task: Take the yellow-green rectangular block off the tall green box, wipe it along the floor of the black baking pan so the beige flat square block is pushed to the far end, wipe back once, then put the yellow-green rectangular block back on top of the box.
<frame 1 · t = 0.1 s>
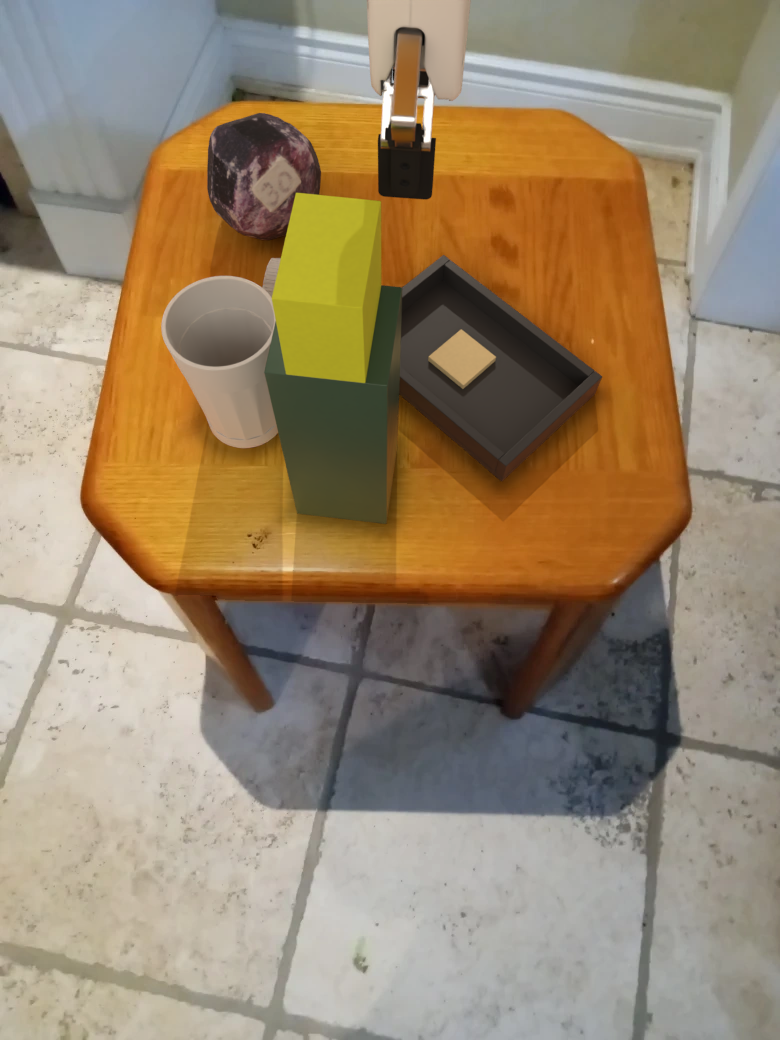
hand: (411, 136, 51), 21 cm above the table, tool pointing down, fingers open, 9 cm apart
mineral specimen: (270, 219, 76), on the table
yellow-green rectangular block: (335, 328, 47), point 19 cm above the table, touching tall green box
tall green box: (348, 478, 64), on the table
cup: (247, 415, 67), on the table
pan: (469, 372, 69), on the table
beige flat square block: (461, 360, 68), point 1 cm above the table, touching pan
wristwatch: (280, 311, 71), on the table
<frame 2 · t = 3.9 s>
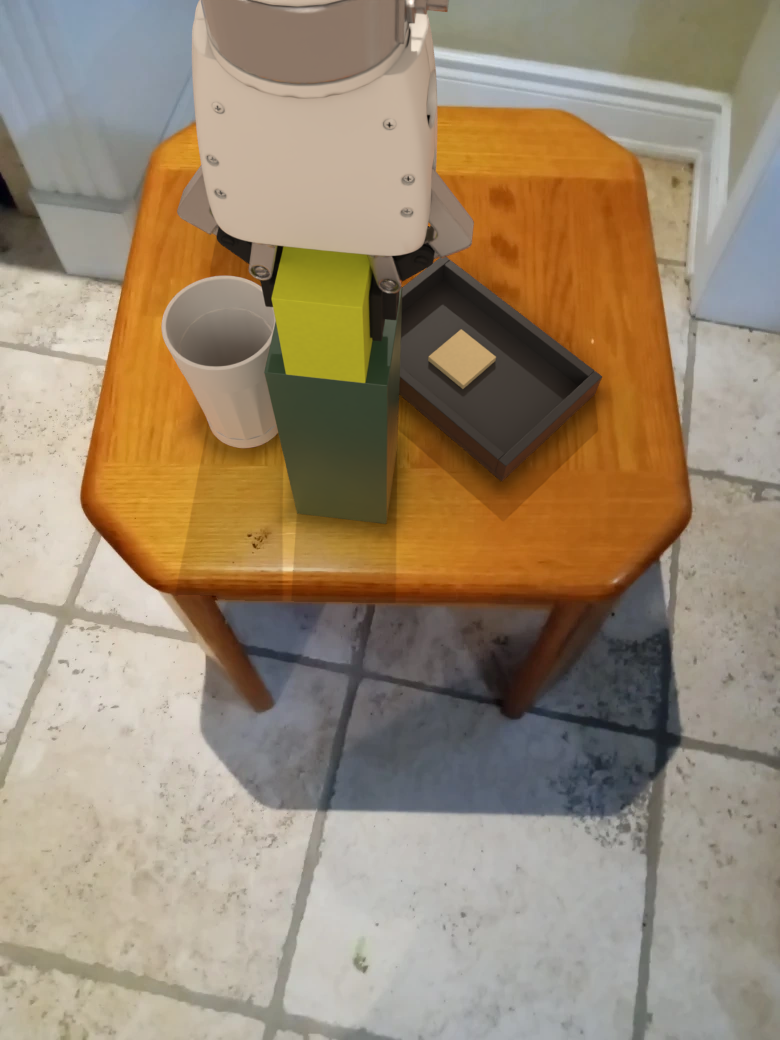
hand: (333, 313, 46), 20 cm above the table, tool pointing down, fingers closed on yellow-green rectangular block, 4 cm apart
yellow-green rectangular block: (335, 328, 47), point 19 cm above the table, touching gripper, tall green box
everything else where it was.
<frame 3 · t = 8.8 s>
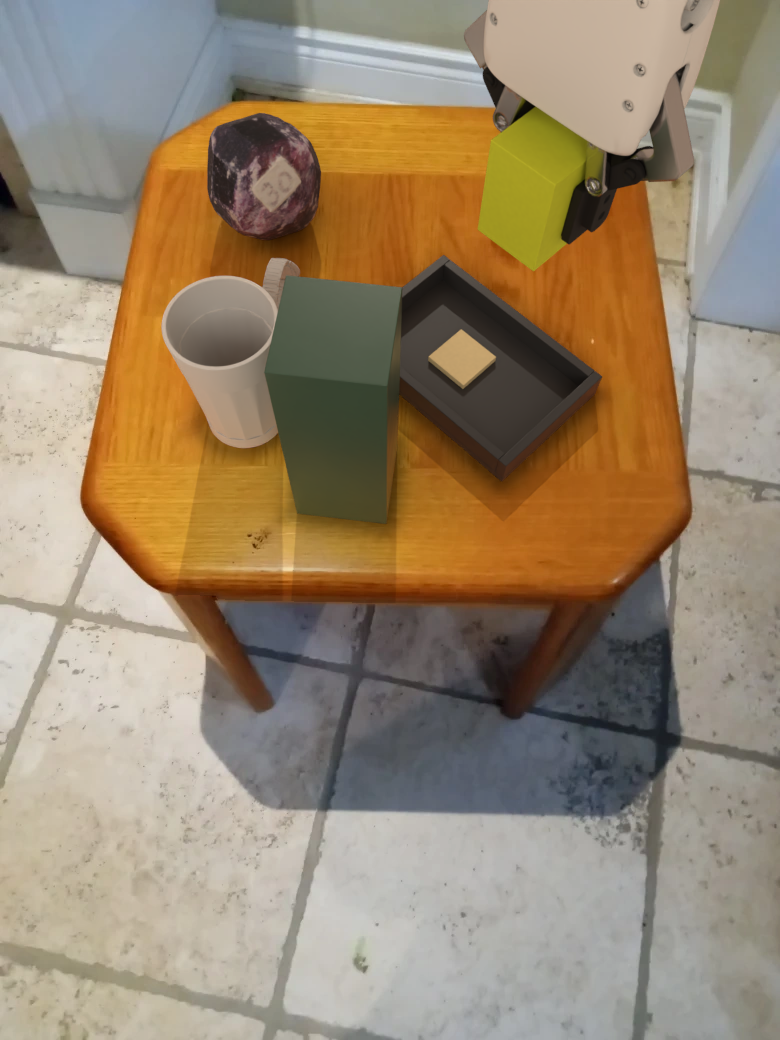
hand: (547, 202, 48), 21 cm above the table, tool pointing down, fingers closed on yellow-green rectangular block, 4 cm apart
yellow-green rectangular block: (543, 219, 50), point 20 cm above the table, touching gripper
everything else where it was.
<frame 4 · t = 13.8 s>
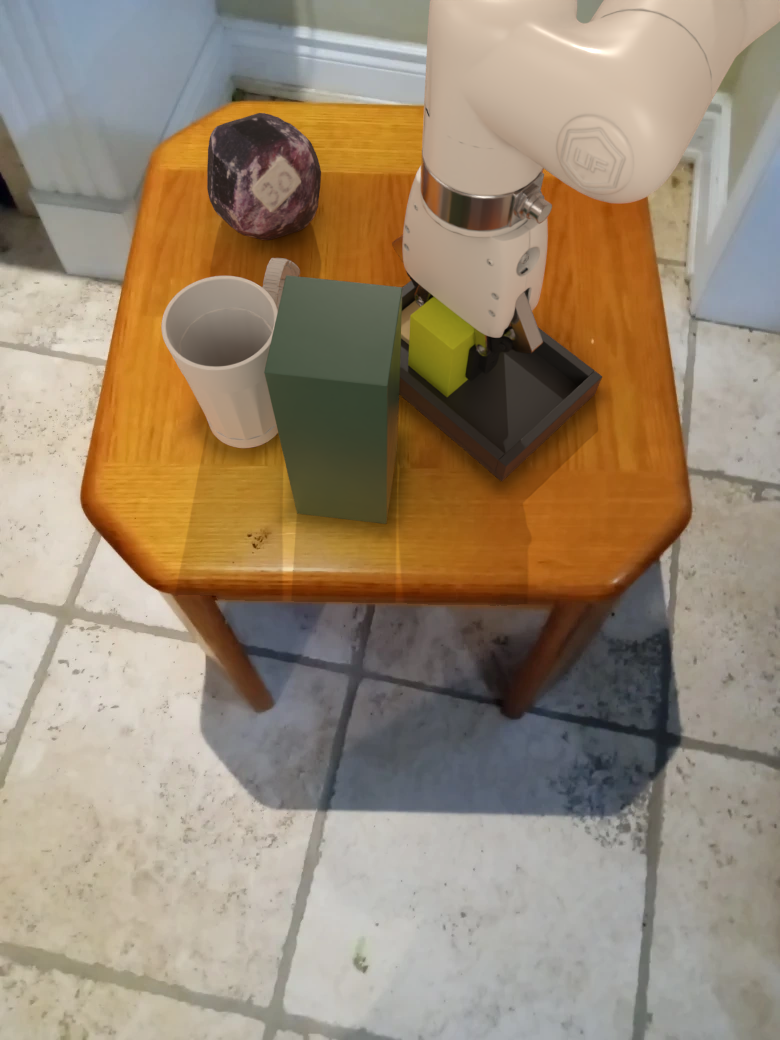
hand: (457, 349, 68), 2 cm above the table, tool pointing down, fingers closed on yellow-green rectangular block, 4 cm apart
yellow-green rectangular block: (456, 356, 69), point 1 cm above the table, touching beige flat square block, gripper, pan
beige flat square block: (420, 327, 70), point 1 cm above the table, touching pan, yellow-green rectangular block
everything else where it was.
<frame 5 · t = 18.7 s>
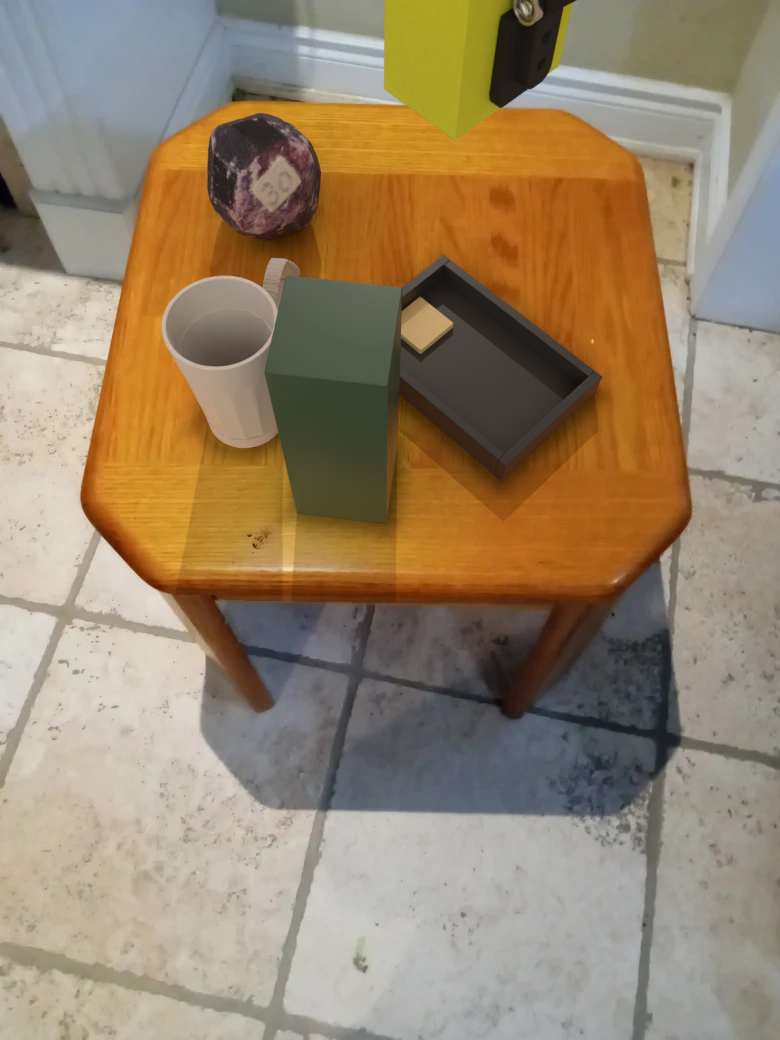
hand: (474, 56, 37), 33 cm above the table, tool pointing down, fingers closed on yellow-green rectangular block, 4 cm apart
yellow-green rectangular block: (472, 77, 38), point 32 cm above the table, touching gripper
beige flat square block: (420, 327, 70), point 1 cm above the table, touching pan
everything else where it was.
when the fingers open (20 cm above the table, at t = 22.7 s): yellow-green rectangular block stays where it is, resting on tall green box.
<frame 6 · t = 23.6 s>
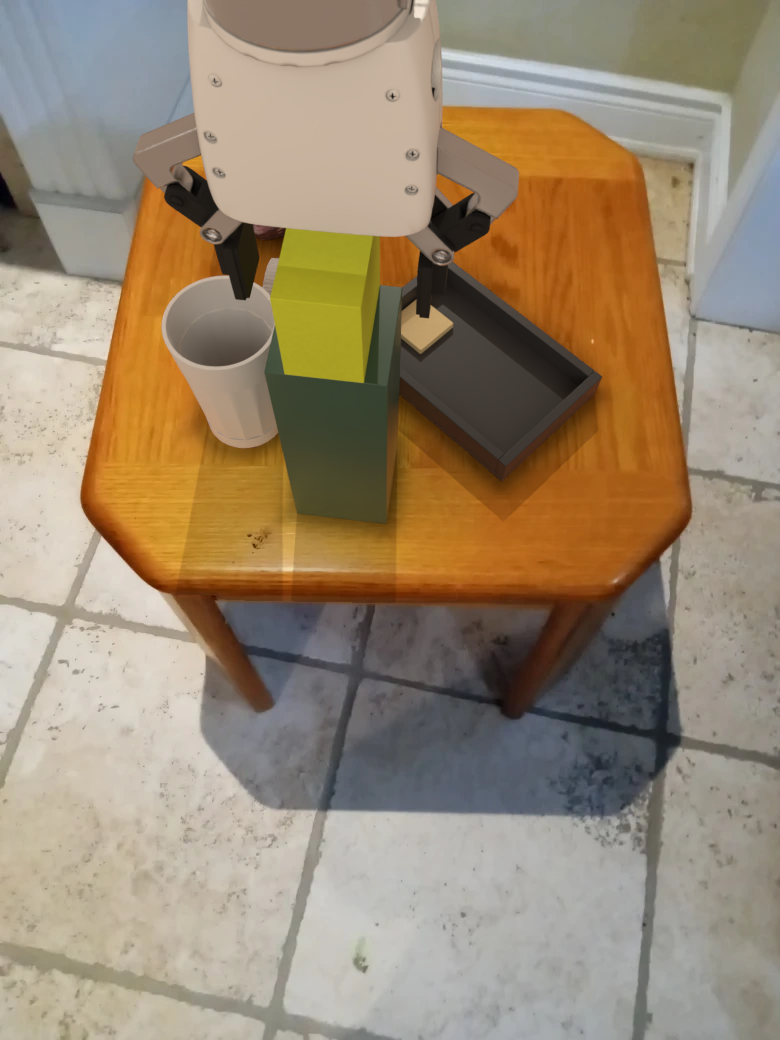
hand: (336, 288, 44), 23 cm above the table, tool pointing down, fingers open, 9 cm apart
yellow-green rectangular block: (333, 328, 47), point 19 cm above the table, touching tall green box
everything else where it was.
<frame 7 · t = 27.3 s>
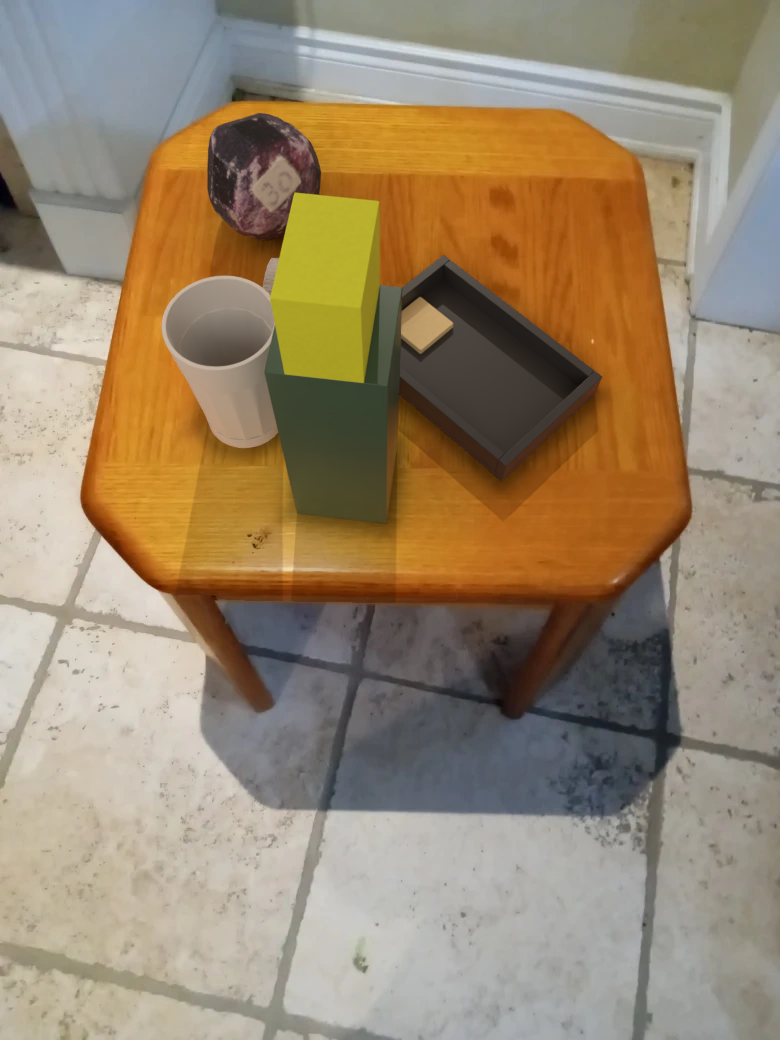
nothing on the table moved.
at the end: beige flat square block 0.1 cm from the target spot in the pan, point 0.6 cm above the pan's base; yellow-green rectangular block 0.1 cm off-centre on the tall green box, point 19.0 cm above the tall green box's base; yellow-green rectangular block tilted 0° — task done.
